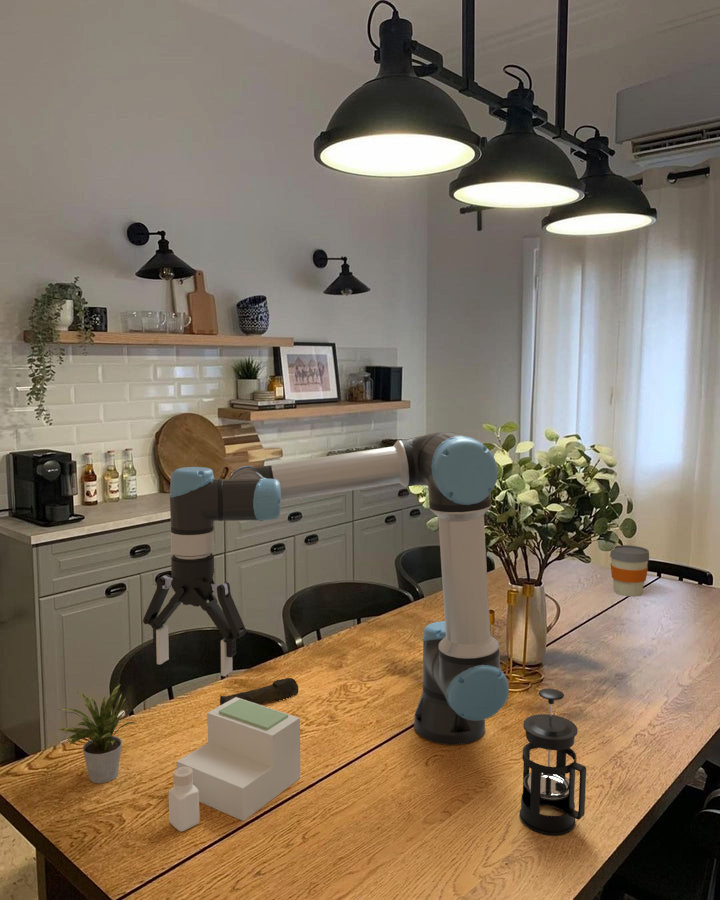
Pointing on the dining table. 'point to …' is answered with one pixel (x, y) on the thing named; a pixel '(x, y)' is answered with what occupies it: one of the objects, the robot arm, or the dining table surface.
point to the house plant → (100, 738)
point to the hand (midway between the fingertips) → (194, 667)
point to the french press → (551, 773)
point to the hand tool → (267, 692)
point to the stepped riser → (245, 757)
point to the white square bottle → (183, 800)
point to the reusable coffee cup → (629, 569)
